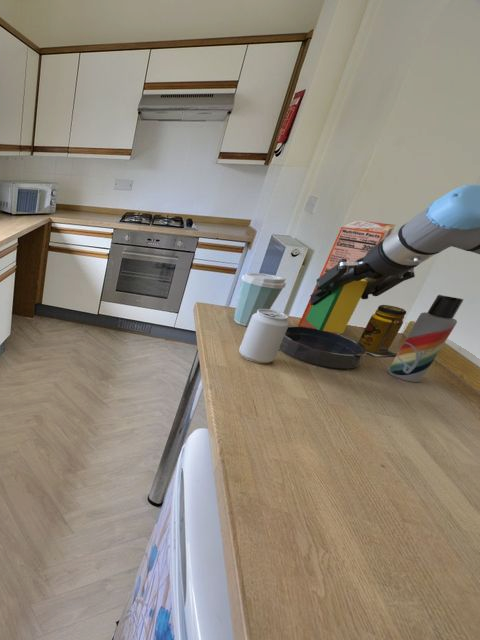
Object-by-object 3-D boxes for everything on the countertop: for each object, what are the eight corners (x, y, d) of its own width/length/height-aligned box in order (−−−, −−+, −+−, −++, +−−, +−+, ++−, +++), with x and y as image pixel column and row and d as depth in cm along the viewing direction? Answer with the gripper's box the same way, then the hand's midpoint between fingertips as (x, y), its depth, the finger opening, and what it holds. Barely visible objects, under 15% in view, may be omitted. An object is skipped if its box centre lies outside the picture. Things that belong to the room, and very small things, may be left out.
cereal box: (313, 317, 129) (357, 220, 116) (345, 326, 124) (395, 225, 111) (293, 335, 115) (341, 226, 102) (329, 345, 110) (384, 232, 97)
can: (230, 353, 103) (247, 308, 97) (250, 349, 106) (267, 305, 100) (259, 367, 97) (279, 320, 91) (280, 362, 99) (299, 316, 94)
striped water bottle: (387, 375, 96) (433, 295, 87) (387, 367, 100) (431, 289, 91) (421, 385, 92) (473, 302, 84) (419, 376, 96) (469, 296, 87)
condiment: (347, 344, 111) (368, 303, 106) (372, 343, 113) (394, 302, 107) (375, 357, 105) (398, 313, 99) (401, 356, 106) (426, 313, 101)
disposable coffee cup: (218, 318, 124) (235, 270, 118) (241, 314, 128) (258, 268, 122) (252, 332, 115) (272, 281, 109) (276, 328, 120) (296, 278, 113)
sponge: (328, 322, 104) (351, 273, 98) (342, 333, 98) (368, 281, 92) (305, 319, 105) (327, 270, 99) (318, 330, 99) (343, 278, 93)
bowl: (377, 372, 97) (385, 357, 95) (306, 368, 97) (313, 353, 95) (321, 340, 113) (328, 327, 111) (260, 337, 112) (265, 324, 111)
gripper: (350, 261, 82) (284, 310, 103) (461, 273, 78) (368, 320, 99) (348, 230, 84) (284, 283, 106) (455, 239, 80) (366, 293, 102)
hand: (325, 301), depth 102 cm, fingers closed on sponge, 5 cm apart
